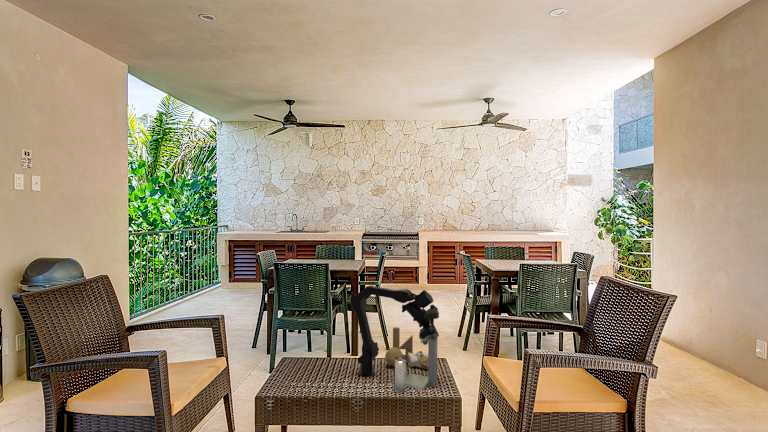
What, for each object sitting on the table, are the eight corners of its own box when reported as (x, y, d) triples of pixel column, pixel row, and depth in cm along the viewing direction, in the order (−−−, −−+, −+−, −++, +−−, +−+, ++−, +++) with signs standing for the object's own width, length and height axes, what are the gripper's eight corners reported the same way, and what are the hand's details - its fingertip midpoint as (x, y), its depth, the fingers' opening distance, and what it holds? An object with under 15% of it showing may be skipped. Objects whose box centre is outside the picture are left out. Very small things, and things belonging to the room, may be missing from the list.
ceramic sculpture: (410, 346, 240) (438, 350, 236) (409, 362, 240) (437, 367, 236) (405, 352, 230) (434, 356, 226) (404, 369, 230) (433, 373, 226)
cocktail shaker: (392, 389, 201) (392, 357, 202) (401, 387, 204) (401, 355, 204) (398, 392, 197) (398, 360, 197) (407, 390, 200) (407, 358, 200)
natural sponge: (397, 370, 228) (398, 350, 228) (382, 368, 231) (382, 348, 232) (404, 365, 236) (405, 346, 236) (389, 363, 240) (389, 344, 240)
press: (394, 388, 202) (394, 336, 203) (409, 376, 219) (410, 327, 220) (427, 394, 196) (427, 340, 196) (440, 381, 213) (440, 331, 213)
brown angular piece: (412, 363, 240) (412, 329, 240) (392, 362, 241) (392, 328, 242) (412, 361, 244) (412, 327, 244) (392, 360, 245) (393, 327, 246)
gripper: (428, 314, 201) (451, 338, 204) (430, 293, 219) (451, 316, 221) (410, 327, 205) (432, 350, 207) (413, 306, 222) (433, 328, 225)
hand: (437, 335), depth 215 cm, fingers closed
